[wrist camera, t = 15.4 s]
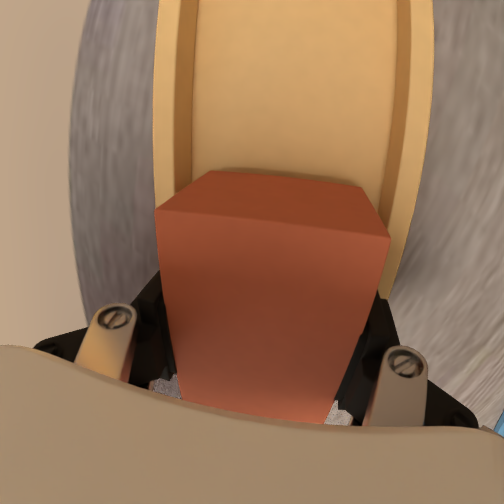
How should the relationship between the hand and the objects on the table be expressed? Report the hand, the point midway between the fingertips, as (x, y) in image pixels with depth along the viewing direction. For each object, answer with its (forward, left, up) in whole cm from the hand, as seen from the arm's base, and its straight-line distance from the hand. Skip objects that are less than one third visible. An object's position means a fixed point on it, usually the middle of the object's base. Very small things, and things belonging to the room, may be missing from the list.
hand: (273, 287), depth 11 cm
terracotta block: (0, 0, 0) cm, 0 cm away
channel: (0, +4, -2) cm, 5 cm away
